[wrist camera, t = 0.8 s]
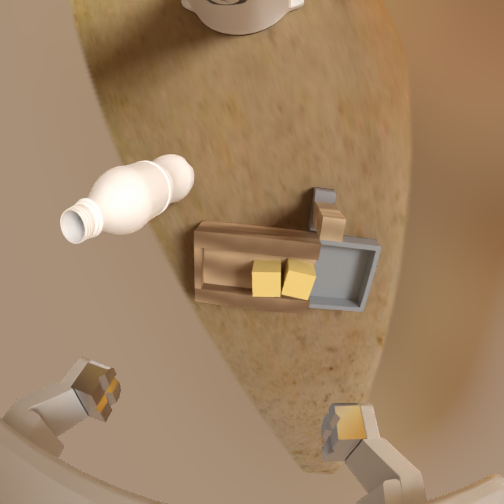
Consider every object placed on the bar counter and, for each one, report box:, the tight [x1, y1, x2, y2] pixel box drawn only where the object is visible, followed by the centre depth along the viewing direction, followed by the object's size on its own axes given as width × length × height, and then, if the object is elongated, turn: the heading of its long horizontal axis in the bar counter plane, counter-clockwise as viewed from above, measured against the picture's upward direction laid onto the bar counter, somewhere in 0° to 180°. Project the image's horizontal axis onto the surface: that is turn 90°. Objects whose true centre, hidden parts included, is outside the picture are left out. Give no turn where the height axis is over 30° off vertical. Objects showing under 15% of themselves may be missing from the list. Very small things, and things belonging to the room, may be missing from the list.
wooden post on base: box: [309, 187, 346, 242], centre depth 37 cm, size 6×3×10 cm, turn 175°
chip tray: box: [309, 235, 382, 312], centre depth 44 cm, size 12×10×3 cm
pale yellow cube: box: [281, 258, 316, 300], centre depth 41 cm, size 4×4×4 cm
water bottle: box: [60, 154, 194, 244], centre depth 30 cm, size 7×7×25 cm
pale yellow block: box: [252, 260, 281, 297], centre depth 41 cm, size 4×4×4 cm
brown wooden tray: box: [194, 221, 321, 314], centre depth 44 cm, size 12×18×5 cm, turn 85°
